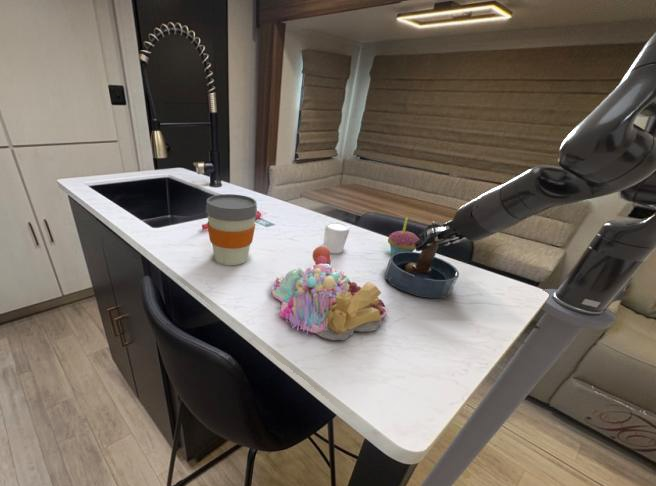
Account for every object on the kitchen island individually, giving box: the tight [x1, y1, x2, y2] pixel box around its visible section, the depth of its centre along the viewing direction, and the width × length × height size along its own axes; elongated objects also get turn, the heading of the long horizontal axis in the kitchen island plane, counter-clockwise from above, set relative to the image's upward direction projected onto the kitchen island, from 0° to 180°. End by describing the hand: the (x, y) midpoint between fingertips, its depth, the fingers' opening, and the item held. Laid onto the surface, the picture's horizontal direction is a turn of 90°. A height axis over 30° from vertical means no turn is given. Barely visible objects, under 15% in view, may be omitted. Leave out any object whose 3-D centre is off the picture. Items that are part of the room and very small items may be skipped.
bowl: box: [384, 251, 460, 299], centre depth 75 cm, size 15×15×5 cm
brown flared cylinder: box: [412, 220, 445, 275], centre depth 71 cm, size 4×4×12 cm
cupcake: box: [387, 215, 421, 256], centre depth 86 cm, size 9×8×12 cm
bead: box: [405, 263, 416, 274], centre depth 78 cm, size 3×3×3 cm
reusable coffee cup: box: [205, 193, 258, 266], centre depth 78 cm, size 13×13×15 cm
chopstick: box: [201, 210, 262, 231], centre depth 103 cm, size 24×2×5 cm
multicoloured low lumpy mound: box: [271, 245, 388, 341], centre depth 64 cm, size 25×24×9 cm
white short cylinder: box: [322, 222, 350, 254], centre depth 89 cm, size 7×7×7 cm
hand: (423, 246), depth 73 cm, fingers closed on brown flared cylinder, 3 cm apart
